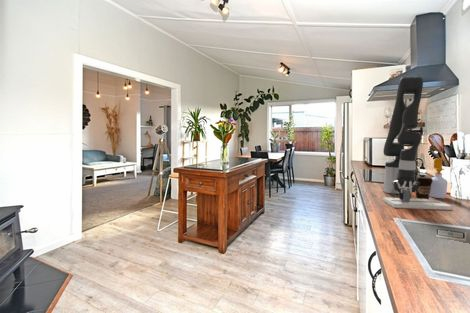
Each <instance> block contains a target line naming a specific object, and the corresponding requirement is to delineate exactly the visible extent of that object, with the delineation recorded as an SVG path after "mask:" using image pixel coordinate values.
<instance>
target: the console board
mask: <svg viewBox="0 0 470 313" xmlns="http://www.w3.org/2000/svg"><path fill="white" fill-rule="evenodd" d="M382 202H384V203H385V204H387V205H389V206H390V207H392V208H395V209H396V208H397V209H419V210H420V209H421V210H422V209H423V210H445V211H446V210H447V211H451V210H452V205H450V204H448V203H445V202H443V201H441V200H437V199H436V198H429V199H418V198H412V197H411V199H410V202H407V201H402V200H400V199H399V197H385V196H384V197H382Z"/></svg>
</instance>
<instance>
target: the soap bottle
mask: <svg viewBox="0 0 470 313" xmlns="http://www.w3.org/2000/svg"><path fill="white" fill-rule="evenodd" d="M444 160H446V158H445V157H436V158H434V159H433V169H434V170H435V171H436V172H435V174H434V176H433V177H431V178H432V180H433V181H432V183H431V191H430V194H429V198H432V199H446V198H447V191H448V190H447V189H448V180H447V179H446V178H444V177H443V173H441V172H442V171H445V168H443V161H444Z"/></svg>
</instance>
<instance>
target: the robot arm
mask: <svg viewBox="0 0 470 313" xmlns="http://www.w3.org/2000/svg"><path fill="white" fill-rule="evenodd" d="M423 88H424V79H423V77H421V76H405V77H404V76H403V77H401V78H400V80H399V82H398V85H397V91H396V98H395V103H394V108H393V112H392V114H391V115H392V116H391V118H390V125H389V129H388V133H387V137H386V140H385V143H384V146H383V155H384V156H385V157H394V159H392V160H388V161H386V162H385V166H384V177H383V193H387V194H392V195H393V194H394V195H395V194H396V195H398V197H397V198H399V199H403V190H404V189H408V190H410V191H411V194H410V199H411V198H412V193H416V190H417V188H418V186H419V185H420V183H419V182H417V181H416V178H415V177H416V166H417V165H416V163H417V162H416V159H417V151H418V149H419V146H420V143H421V141H422V137H423V136H422V134H421V133H420V132H418V131H409V130H413V129H416V128H418V126H419V108H420V103H421V99H422V94H423ZM404 95H413V98H412V100H411V101H410V103H409V104H408V105H406V102H405V100H404ZM396 138H397V142H395V139H396ZM405 145H406V146H411V147H409V148H405Z"/></svg>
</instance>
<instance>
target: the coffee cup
mask: <svg viewBox="0 0 470 313" xmlns="http://www.w3.org/2000/svg"><path fill="white" fill-rule="evenodd" d="M415 181H417V182H419V183H420V185H419V186H418V188H417V190H416V191H415V199H430V196H429V194H430V191H431V183H432V181H433V180H432V177H428V176H427V177H426V176H418V177H417V178H415Z"/></svg>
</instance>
